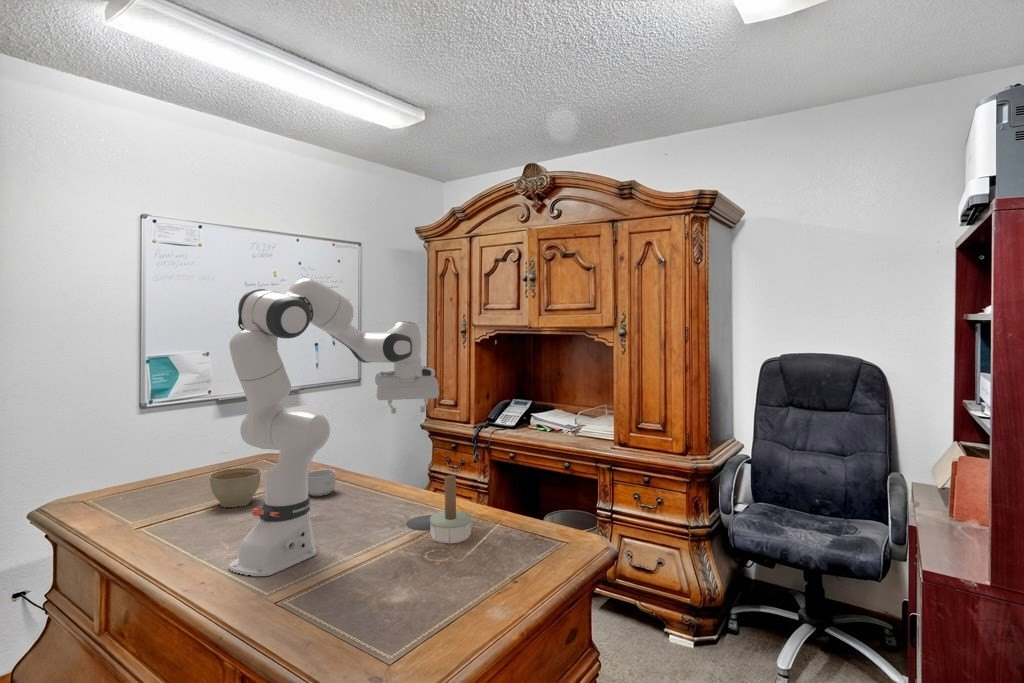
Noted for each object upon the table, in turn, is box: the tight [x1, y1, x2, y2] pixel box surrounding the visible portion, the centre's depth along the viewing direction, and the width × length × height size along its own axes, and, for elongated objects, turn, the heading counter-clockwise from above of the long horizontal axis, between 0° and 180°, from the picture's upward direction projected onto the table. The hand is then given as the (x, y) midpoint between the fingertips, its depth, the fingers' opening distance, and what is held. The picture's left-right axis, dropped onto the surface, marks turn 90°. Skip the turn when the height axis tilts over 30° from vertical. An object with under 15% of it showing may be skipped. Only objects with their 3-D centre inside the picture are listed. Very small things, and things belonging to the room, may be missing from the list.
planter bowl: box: [208, 467, 262, 508], centre depth 189 cm, size 16×16×11 cm
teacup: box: [308, 468, 336, 497], centre depth 201 cm, size 14×11×8 cm
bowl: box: [429, 521, 472, 544], centre depth 158 cm, size 11×11×5 cm
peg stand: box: [430, 474, 472, 528], centre depth 158 cm, size 12×12×13 cm
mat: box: [405, 514, 433, 532], centre depth 168 cm, size 13×13×1 cm
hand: (408, 412), depth 179 cm, fingers open, 8 cm apart
